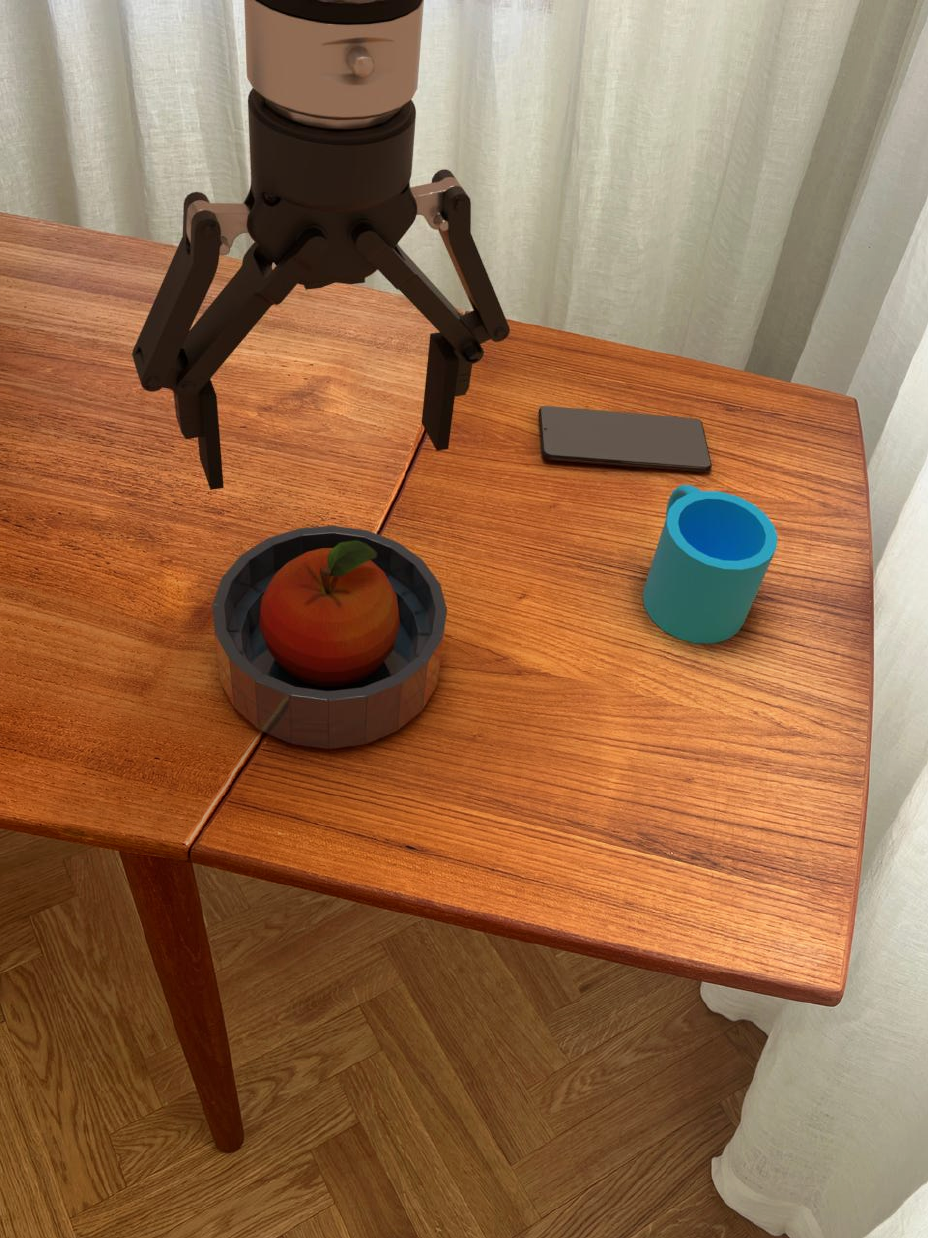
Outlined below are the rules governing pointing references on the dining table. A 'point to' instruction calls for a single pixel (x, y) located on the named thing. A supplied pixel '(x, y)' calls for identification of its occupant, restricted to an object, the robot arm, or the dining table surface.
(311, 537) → the bowl
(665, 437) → the smartphone
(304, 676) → the fruit
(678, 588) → the mug
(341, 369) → the dining table surface
